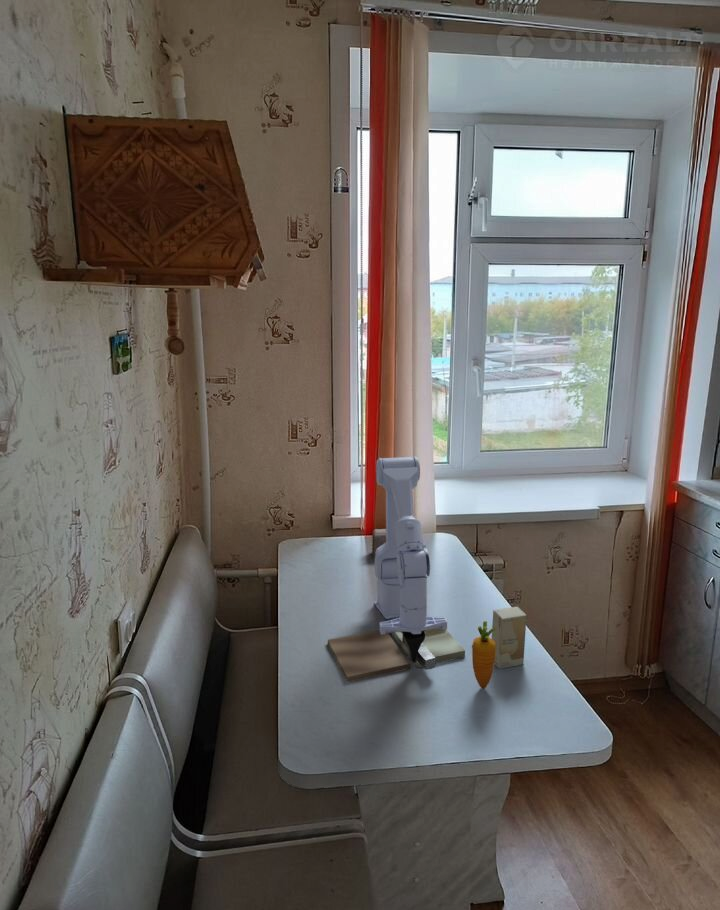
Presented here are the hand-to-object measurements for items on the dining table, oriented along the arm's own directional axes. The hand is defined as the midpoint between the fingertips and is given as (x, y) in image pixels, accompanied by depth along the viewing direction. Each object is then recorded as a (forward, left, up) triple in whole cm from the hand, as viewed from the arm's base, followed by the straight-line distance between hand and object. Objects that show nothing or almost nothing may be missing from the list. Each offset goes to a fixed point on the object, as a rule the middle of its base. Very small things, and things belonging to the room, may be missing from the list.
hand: (413, 659), depth 138 cm
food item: (-61, +19, -3) cm, 64 cm away
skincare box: (+4, +21, -3) cm, 22 cm away
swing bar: (-3, +2, 0) cm, 4 cm away
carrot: (+11, +11, -3) cm, 16 cm away
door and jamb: (-9, -1, -2) cm, 9 cm away
